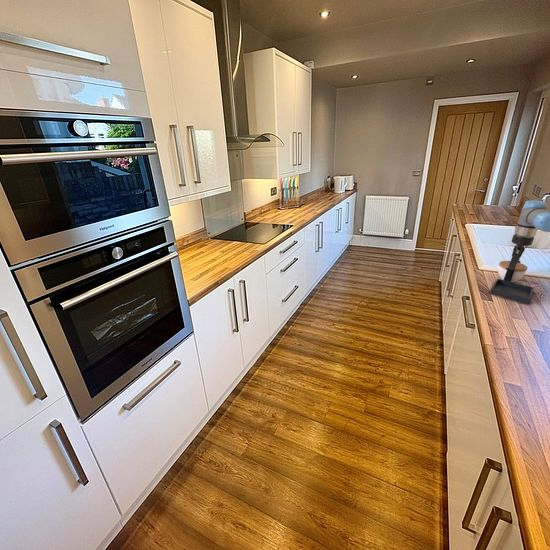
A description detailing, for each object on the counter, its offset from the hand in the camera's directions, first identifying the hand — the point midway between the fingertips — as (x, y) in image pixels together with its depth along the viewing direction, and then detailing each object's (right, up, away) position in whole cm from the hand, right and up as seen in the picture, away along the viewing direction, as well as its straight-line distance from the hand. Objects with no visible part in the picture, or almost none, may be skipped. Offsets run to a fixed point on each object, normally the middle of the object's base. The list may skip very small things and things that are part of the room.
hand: (508, 278), depth 142 cm
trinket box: (0, -1, 0) cm, 1 cm away
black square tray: (-8, -6, -11) cm, 15 cm away
